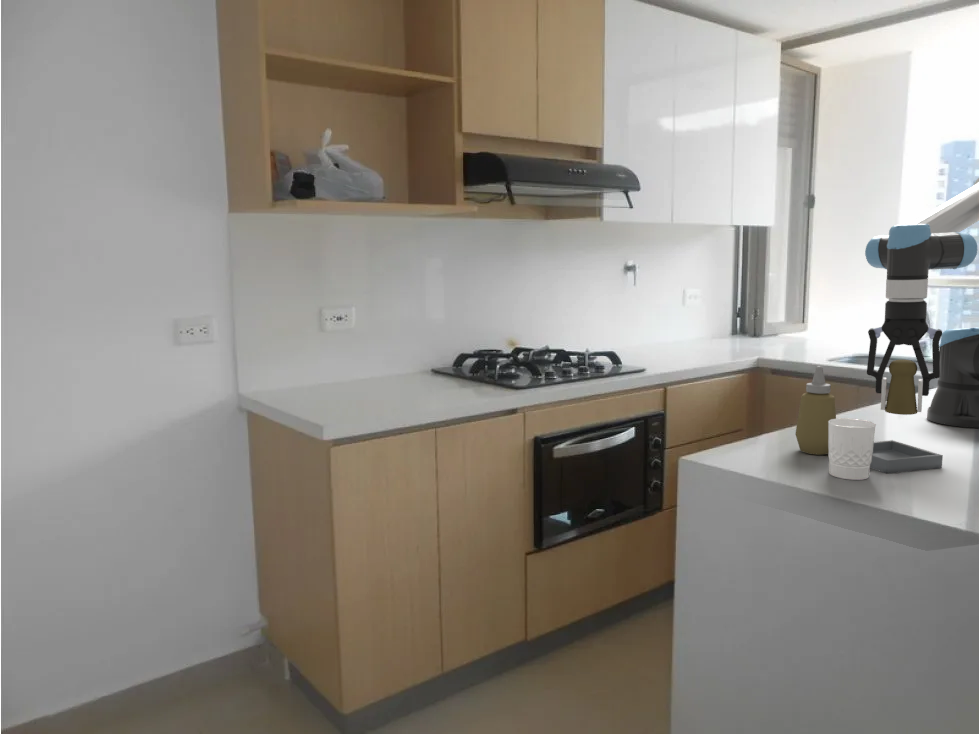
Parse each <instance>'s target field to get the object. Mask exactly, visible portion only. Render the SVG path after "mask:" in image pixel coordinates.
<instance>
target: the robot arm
mask: <svg viewBox="0 0 979 734" xmlns="http://www.w3.org/2000/svg"><path fill="white" fill-rule="evenodd" d="M974 181H975V182H974V183H973V186H971V187H969V188H968V189H966V190H964V191H963V192H961V193H959V194H958V195H956V196H954V197H952V198H950V199H949V200H947V201H946V202H944V203H942V204H941V205H939V206H937V207H936V208H934V209H932V210H930V211H928V212H927V213H926V214H924V215H922V216H921V217H918V218H916V219H915V220H914V221H912V222H911V223H908V224H906V223H905V224H895V225H893V226H891V227H890V228H889V230H888V231H889V232H888V234H881V235H877V236H876V235H875V236H873V237H872V238H871V239H869V241H868V242H867V244H866V246H865V253H864V255H865V259H866V262H867V263H868V265H869V266H871V267H872V268H875V269H883V270H886V280H885V281H886V282H885V298H886V299H888V300H886V302H885V305H884V308H885V309H884V321H883V324H882V326H880V327H875V328H874V327H872V328H869V329H868V331H867V333H868V337H869V340H870V341H869V349H868V356H867V357H868V358H867V365H866V366H867V367H866V374H867V376H871V377H873V378H874V379H875V393H876V394H881V395H880V396H881V397H880V411H885V407H886V402H887V382H888V381H887V380H888V378H887V377H884V374H885V371H886V369H887V367H888V364H889V361H890V359H891V357H892V354H893V352H894V349H895V348H896V346H902V345H905V346H911V347H912V350H913V352H914V355H915V358H916V361H917V364H918V365H917V366H918V368H919V371H920V374H921V377H922V378H918V387H917V388H918V390H917V413H922V409H923V408H922V407H923V397H928V396H929V394H930V381H932V380H934V379H937V388H936V391H935V392H934V394H933V397H932V399H931V403H930V405H929V406H928V408H927V412H926V419H927V420H928V421H931V422H933V423H935V424H936V423H937V424H941V425H944V426H945V425H947V426H953V427H960V428H961V427H962V428H975V429H976V428H977V429H978V428H979V327H964V328H949V329H946V330H944V331H943V330H942V329H939V328H938V329H937V328H932V327H929V325H928V323H927V306H928V302H927V301H926V300H925V299H927V298H928V289H929V288H928V286H929V271H930V270H956V269H959V268H961V269H962V268H965V267H968V266H969V265H971V264H972V263H973V262H974V261H975V259H976V258H977V254H978V243H977V241H976V239H975V237H973V235H971V234H970V233H967V232H962V231H964V230H965V229H968V228H969V227H970V226H972V225H974V224H976V223H977V222H979V177H978V178H977V179H976V180H974ZM881 333H884V335H885V336H886V338H887V339H888V340H889V342H888V346H887V348H886V350H885V353H884V355H883V358H882V360H881V361H880V362H881V363H880V364H879V368H877V369H878V370H876V369H875V363H876V356H877V346H878V339H879V338H880V337H881ZM926 334H928V335H929V337H928V338H929V339H930V340H932V343H931V347H932V350H931V351H932V371H931V372H929V370H928V366H927V363H926V359H925V357H924V354H923V351H922V347H921V343H920V341H921V339H922V338H923V337H924V336H925V335H926Z"/></svg>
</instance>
